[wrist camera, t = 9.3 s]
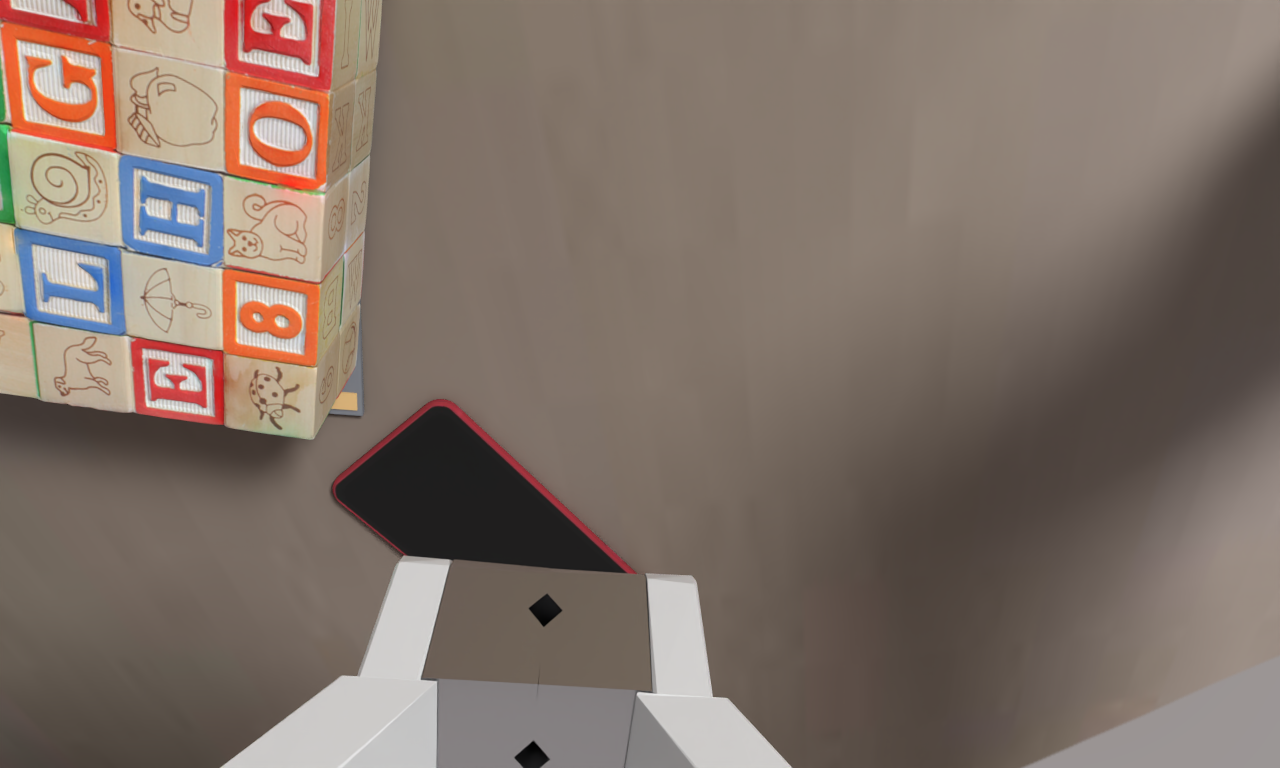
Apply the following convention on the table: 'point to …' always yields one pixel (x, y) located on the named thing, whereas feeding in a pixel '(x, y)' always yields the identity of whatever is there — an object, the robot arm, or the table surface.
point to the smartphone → (465, 499)
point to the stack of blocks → (185, 205)
